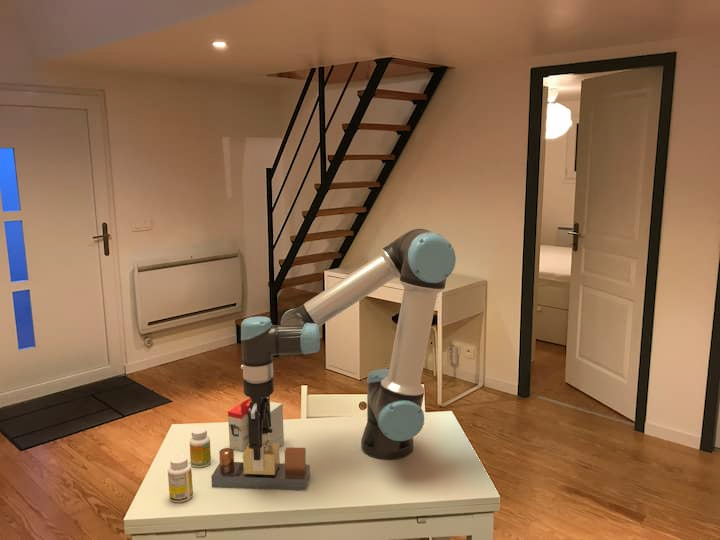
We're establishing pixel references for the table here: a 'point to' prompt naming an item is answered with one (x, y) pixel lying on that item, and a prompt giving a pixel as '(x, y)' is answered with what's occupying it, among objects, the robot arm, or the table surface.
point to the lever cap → (269, 459)
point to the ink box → (239, 426)
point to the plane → (285, 478)
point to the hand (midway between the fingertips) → (261, 463)
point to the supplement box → (276, 423)
